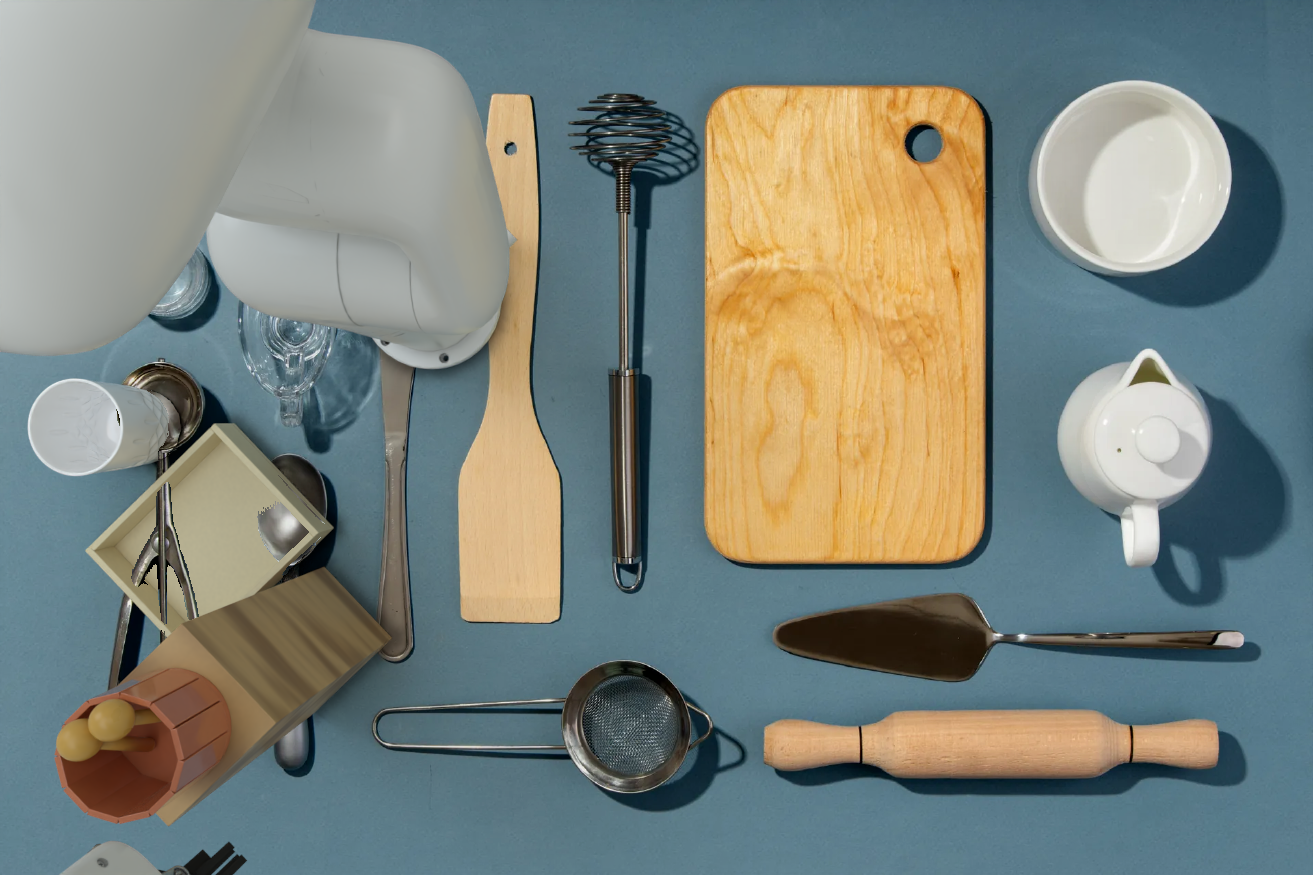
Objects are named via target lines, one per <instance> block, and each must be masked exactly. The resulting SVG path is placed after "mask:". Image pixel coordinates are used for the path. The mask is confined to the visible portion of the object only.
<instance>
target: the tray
mask: <svg viewBox="0 0 1313 875" xmlns="http://www.w3.org/2000/svg"><path fill="white" fill-rule="evenodd" d="M278 475H279V476H280V477H281V478H282V479H283V480H284V481H285V482H286V483H287V484H288V486H289V487H290V488H291V489H292V490H293V491H294V492H295V493H296V494H297V495H298V496H299V497H300V498H301V499H302V500H303V501H304V502H305V503H306V504H307V506H308V507H309V508H310V509H311V510H312V511H313V512H314V513H315V514H316V515H317V516H318V517H319V518H320V519H321V520H322V521H323V522H324V523H325V524H324V523H322V522H321V521H320V520H319V519H318V518H317V517H315V515H314V514H313V513H312V512H311V511H310V510H309V509H308V508H307V507H306V506H305V505H304V504H303V503H302V502H301V501H300V500H299V498H297V496H296V495H295V494H294V493H293V492H292V491H291V490H290V489H289V488H288V486H286V484H285V483H284V482H283V480H282V479H281V478H280V477H279V476H278ZM166 482H169V484H170V487H171V502H172V514H173V522H174V527H175V529H176V533H177V535H178V540H179V544H180V550H181V552H182V554H183V556H184V560H185V563H186V564H187V568H188V571H189V577H190V580H191V584H192V587H193V591H194V593H195V600H196V602H197V608H198V614H199V616H202V615H204V614H207V613H209V612H212V611H214V610H217V609H219V608H222V607H224V606H227V605H229V604H232V603H234V602H237V601H239V600H242V599H245V598H247V597H250V596H252V595H255V594H257V593H260V592H262V591H265V590H267V589H270V588H272V587H275V586H277V585H278V583H279V582H280V581H281V580H282V579H283V578H284V577H283V575H282V574H283V572H284V571H285V570H286V568H287V567H288V566H289V565H290V564H291V563H292V562H294V561H295V560H296V559H297V558H298V557H299V556H300V555H301V554H303V553H304V552H305V551H306V550H307V549H308V548H309V547H310V546H311V545H313V543H315V542H316V541H317V540H318V539H319V538H320V537H321V538H320V539H319V540H318V541H317V542H316V546H317V545H318V544H320V542H321V541H322V540H323V539H324V538H326V536H328V535H329V534H330V532H332V530H334V526H333V525H332V524H331V523H330V522H329V521H328V520H327V519H326V517H324V516H323V515H322V513H321V512H320V511H319V510H318V509H317V508H316V507H315V506H314V505H313V504H312V503H311V502H310V501H309V500H308V499H307V498H306V497H305V496H304V495H303V494H302V493H301V491H300V490H299V489H298V488H297V487H296V486H295V485H294V484H293V483H292V482H291V481H290V480H289V479H288V478H287V477H286V475H285V474H283V473H282V472H281V470H279V469H278V467H277V466H276V465H275V464H274V463H273V462H272V460H270V459H269V458H268V457H267V455H265V454H264V452H262V451H261V449H260V448H258V447H257V445H256V444H255V443H254V442H253V441H252V439H250V438H249V437H248V436H247V435H246V433H244V431H242V430H241V428H240V427H239V426H238V425H237V423H234V422H232V423H229V422H228V423H226V422H225V423H219V422H218V423H217V422H216V423H213V424H212V425H211V427H209V428H208V429H207V430H206V431H205V432H204V433H203V434H202V435H201V436H200V437H199V438H198V439H197V440H196V441H195V442H194V443H193V444H192V445H191V446H190V447H189V448H188V449H187V450H186V451H185V452H184V453H183V454H182V455H181V456H180V457H179V458H178V459H177V460H175V462H174V463H172V464H171V465H170V466H169V468H168V469H167V470H165V471H164V472H163V473H162V474H161V475H160V476H159V477H158V478H157V480H155V481H154V482H153V483H152V484H151V485H150V486H149V487H147V489H146V490H145V491H144V492H143V493H142V494H141V495H140V496H139V497H137V499H136V500H135V501H134V502H133V503H132V504H131V505H130V506H128V508H127V509H125V511H123V513H122V514H121V515H120V516H118V518H116V519H115V520H114V521H113V522H112V524H110V526H108V527H107V528H106V529H105V530H104V531H103V532H102V533H101V534H100V535H99V536H98V537H97V538H96V539H95V540H94V541H93V542H92V543H91V544H90V545H89V546H88V547H87V548H86V549H85V550H84V551H85V552H86V554H87V555H88V556H89V557H90V558H91V559H92V560H93V561H94V562H95V563H96V564H97V566H99V567H100V568H101V570H103V572H104V573H105V574H106V575H107V576H108V577H109V578H110V579H111V580H112V582H114V583H115V584H116V585H117V586H118V588H119V589H121V591H123V593H124V594H125V595H126V596H127V597H128V598H129V599H130V600H131V602H133V604H135V605H136V607H138V608H139V610H140V611H141V612H142V613H143V614H144V615H145V616H146V617H147V618H148V619H149V620H150V621H151V622H152V623H153V624H154V626H156V627H157V629H158V630H159V631H160V632H161V630H162V632H163V633H164V631H165V635H164V636H165V638H167V637H168V636H169V635H170V634H171V633H172V632H173V631H174V630H175V629H176V628H177V627H178V626H179V625H180V624H182V623H184V622H187V621H189V619H188V617H187V610H186V607H185V602H184V595H183V591H182V588H181V587H180V584H179V582H178V578H177V576H176V574H175V572H174V569H173V568H172V567H171V566H169V565H168V567H167V624H165V625H164V623H163V622H162V621H161V613H160V606H159V600H158V579H157V565H156V564H155V565H153V567H152V569H150V572H148V574H147V576H146V577H145V580H144V581H145V582H146V583H147V584H148V585H147V584H144V583H143V584H141V585H140V586H139V587H136V586H135V585H134V584H133V582H132V579H131V576H132V569H134V567H135V564H136V562H137V559H139V555H140V554H141V551H142V550H143V548H144V546H145V544H146V543H147V541H148V539H150V535H151V534H152V532H153V531H154V528H155V527H156V496H157V492H158V491H159V490H160V489H161V487H162V486H163V485H164V484H165V483H166ZM275 501H276V505H277V502H279V504H280V502H281V503H282V504H283V505H284V506H285V507H286V508H287V509H288V510H289V511H290V512H291V514H292V515H293V516H294V517H295V518H296V519H297V520H298V521H299V522H300V523H301V524H302V525H303V526H304V527H305V528H306V529H307V530H308V531H309V533H308V534H307V535H306V536H305V537H304V538H303V539H302V540H301V541H300V542H299V543H298V544H297V545H296V546H295V547H294V548H292V549H291V550H290V551H289V552H288V553H287V554H286V555H285V556H284V557H283V558H282V559H281V560H280V561H279V562H278V561H277V560H276V559H275V558H274V557H273V555H272V554H271V553H270V552H269V550H267V548H266V546H264V543H263V541H262V538H261V537H260V533H259V531H258V518H257V516H258V511H259V514H261V511H262V512H263V511H264V512H265V508H266V509H267V507H269V509H271V507H273V504H274V505H275ZM270 505H271V507H270ZM263 507H264V509H263ZM274 509H275V506H274ZM267 510H268V509H267ZM262 515H263V514H262ZM316 546H312V548H311V550H310V552H311V551H312V550H313V549H314V548H315V547H316ZM162 632H161V633H162ZM163 633H162V634H163Z"/></svg>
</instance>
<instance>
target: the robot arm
mask: <svg viewBox="0 0 1313 875" xmlns="http://www.w3.org/2000/svg"><path fill="white" fill-rule="evenodd" d="M316 3H317V0H0V353H5V354H13V355H22V356H32V357H33V356H34V357H57V356H66V355H68V356H69V355H75V354H82V353H87V352H92V351H95V350H97V349H99V348H101V347H104V346H106V345H109V344H110V343H112V342H114V341H116V340H117V339H119V338H121V337H122V336H124V335H125V334H127V333H129V332H130V331H132V330H133V329H135V328H136V327H137V326H138V325H140V323H142V321H144V320H145V319H146V318H147V317H148V316H149V315H150V314H151V313H152V312H153V311H154V309H155V308H156V307H157V306H158V304H159V303H160V302H161V301H162V300H163V299H164V297H165V296H166V295H167V293H168V292H169V291H170V290H171V288H172V287H173V286H174V284H175V283H176V281H177V280H178V279H179V278H180V276H181V274H182V273H183V272H184V270H185V268H186V267H187V266H188V263H189V262H190V260H191V258H192V257H193V255H194V254H195V252H196V250H197V249H198V246H199V245H200V243H201V241H202V240H203V238H204V236H205V235H206V245H207V250H208V254H209V257H210V260H211V264H212V265H213V268H214V270H215V272H216V274H217V275H218V278H219V279H220V281H221V282H222V283H223V285H224V286H225V287H226V288H227V290H228V291H229V293H232V295H233V296H234V297H235V298H236V299H238V300H239V301H240V302H241V303H243V304H244V305H246V306H248V307H249V308H251V309H252V310H255V311H256V312H259V313H262V314H263V315H266V316H268V317H269V316H270V317H273V318H277V319H281V320H287V321H293V322H301V323H304V324H305V323H306V324H312V325H318V326H322V327H329V328H334V329H339V330H343V331H347V332H351V333H354V334H358V335H361V336H365V337H368V338H372V340H373V341H374V343H375V344H376V346H378V347H379V349H381V350H382V351H383V353H385V354H386V355H387V356H389V357H391V358H392V359H393V360H395V361H396V362H399V363H401V364H404V365H406V366H408V367H412V368H415V369H424V370H440V369H447V368H450V367H454V366H457V365H460V364H462V363H464V362H465V361H467V360H470V359H471V358H473V356H474V355H476V354H477V353H478V352H480V351H481V350H482V349H483V348H484V347H485V345H486V344H487V343H488V341H489V340H490V338H492V335H493V333H494V332H495V330H496V328H497V326H498V322H499V319H500V316H501V309H502V303H503V300H504V298H505V295H506V292H507V289H508V285H509V277H510V264H511V263H510V262H511V257H510V255H511V254H510V249H511V247H512V246H513V245H514V244H515V243H516V242H517V241H518V239H517V238H516V237H515V236H514V235H513V233H511V231H510V230H509V229H508V228H507V223H506V219H505V214H504V208H503V205H502V201H501V197H500V193H499V189H498V186H497V185H498V184H497V182H496V177H495V173H494V170H493V165H492V161H491V158H490V154H489V149H488V146H487V140H486V138H485V137H486V136H485V133H484V130H483V125H482V122H481V118H480V114H479V111H478V109H477V108H478V107H477V105H476V102H475V99H474V96H473V94H472V91H471V89H470V86H469V84H468V83H467V82H466V80H465V78H464V77H463V75H462V74H461V73H460V72H459V70H458V69H456V67H455V66H454V65H453V64H452V63H451V62H449V61H448V60H447V59H446V58H444V57H443V56H441V55H440V54H438V53H437V52H434V51H432V50H430V49H428V48H425V47H423V46H418V45H416V44H412V43H407V42H403V41H397V40H390V39H383V38H382V39H381V38H373V37H364V36H356V35H346V34H338V33H332V32H324V31H320V30H316V29H312V28H309V26H310V23H311V20H312V17H313V13H314V10H315V5H316ZM205 233H206V234H205ZM446 357H448V359H447V360H445V358H446ZM235 853H236V851H235V846H234V845H233V844H232V842H230V841H227V842H226V843H225V844H224V845H223V846H222V847H221V848H219V850H217V852H215V853H214V854H213V855H212V856H210V855H209V854H208V853H207V852H206V851H205V850H204V849H203V848H202V849H201V850H200V851H199V852H198V853H196V854H195V856H193V857H192V858H191V859H190V860H189V861H188V862H187V863H186V864H184V865H183V866H182V865H180V864H179V865H174V866H173V867H172V866H171V867H170V868H169V869H167V870H163V869H159V868H157V867H156V866H155V865H153V863H151V861H150V860H149V859H148V858H146V857H145V856H144V855H143V854H142V853H141V852H140V851H139V850H137V849H135V848H134V847H133V846H131V845H129V844H127V843H125V842H122V841H118V840H108V841H105V842H102V843H96V844H95V845H94V846H92V847H91V849H89V851H88V852H86V854H84V855H83V856H81V857H80V858H79V859H78V860H76V861H74V862H73V863H72V864H71V865H69V866H68V867H67V868H66V869H64V870H63V871H62V872H60V873H59V874H58V875H213V874H214V873H215V872H216V871H217V870H218V869H219V868H220V867H221V866H222V865H223V864H224V863H225V862H226V861H228V860H229V858H230V857H232V856H233V855H234V854H235ZM247 861H248V859H246V858H245V856H243V854H240V855H239V854H238V853H236V854H235V855H234V856H233V857H232V858H231V859H230V860H229V861H228V862H227V863H226V864H225V865H223V866H222V868H221V869H219V871H218V872H216V874H215V875H235V874H236V873H237V871H239V870H240V868H242V867H243V866H244V865H245V864H246V863H247Z"/></svg>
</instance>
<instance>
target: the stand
mask: <svg viewBox="0 0 1313 875" xmlns="http://www.w3.org/2000/svg"><path fill="white" fill-rule="evenodd" d="M391 640H392V636H391V635H390V634H389V633H388V632H387V631H386V629H384V628H383V627H382V626H381V625H380V623H378V621H376V620H375V619H374V617H373V616H372V615H371V614H370V613H369V612H368V611H367V610H366V608H364V607H363V606H362V604H360V603H359V602H358V600H356V599H355V597H354V596H353V595H352V594H351V593H350V592H349V591H348V590H347V589H346V588H345V586H344V585H342V584H341V582H339V580H338V579H336V578H335V576H334V575H333V574H332V573H331V572H330V571H329V570H328V569H327V568H326V566H322V567H320V568H317V569H315V570H312V571H310V572H307V573H305V574H303V575H300V576H297V577H295V578H293V579H290V580H287V581H285V582H282V583H280V584H276V585H275V586H274V587H272V588H270V589H267V590H265V591H262V592H260V593H257V594H255V595H252V596H250V597H247V598H245V599H242V600H239V601H237V602H234V603H232V604H229V605H227V606H224V607H222V608H219V609H217V610H214V611H212V612H209V613H207V614H204V615H202V616H199V617H197V618H194V619H192V620H189V621H187V622H184V623H182V624H180V625H179V626H178V627H177V628H176V629H175V630H174V631H173V632H172V633H171V634H170V635H169V636H168V637H165V639H164V640H163V641H162V642H160V643H159V645H157V647H156V648H154V649H153V651H152V652H150V653H149V654H148V655H147V656H146V657H145V658H144V659H143V660H142V661H141V662H140V663H139V664H138V665H137V666H135V667H134V669H133V670H132V671H131V672H130V673H129V674H128V675H126V677H125V678H124V679H123V680H122V681H120V683H119V684H117V686H119V685H121V684H123V683H125V682H128V681H130V680H132V679H134V678H136V677H138V676H141V675H144V674H148V673H151V672H153V671H157V670H160V669H165V668H181V669H186V670H190V671H193V672H196V673H198V674H200V675H202V676H204V677H205V678H206V679H208V680H209V681H210V682H212V683H213V684H214V685H215V686H216V687H217V689H218V690H219V691H220V692H221V694H222V695H223V697H224V699H225V701H226V703H227V705H228V708H229V711H230V716H231V727H232V728H231V737H230V742H229V745H228V748H227V750H226V752H225V754H224V756H223V758H222V759H221V760H220V762H219V763H218V764H217V765H216V766H215V768H214V769H212V770H211V771H210V772H209V773H207V774H206V775H205V776H204V777H203V778H202V779H201V780H200V781H199V782H197V783H196V784H195V785H193V786H192V787H191V788H189V789H188V790H187V791H185V792H184V793H182V794H181V795H180V796H178V797H177V798H176V799H174V800H173V801H172V802H170V803H169V804H168V805H166V806H165V807H163V808H162V809H161V810H159V811H158V812H157V813H155V815H157V816H158V817H159V819H161V821H162V822H163V823H164V824H165V825H166V826H167V827H170V826H172V825H173V824H174V823H176V821H178V820H180V819H181V818H182V817H183V816H185V815H186V814H187V813H188V812H189V811H191V810H192V809H193V808H194V807H196V806H197V805H198V804H200V803H201V802H202V801H204V800H205V799H206V798H207V797H209V796H210V795H211V794H213V793H214V792H215V791H216V790H218V789H219V788H221V787H222V786H223V785H224V784H226V783H227V782H228V781H229V780H231V779H232V778H233V777H234V776H236V775H237V774H238V773H240V772H241V771H242V770H243V769H245V768H246V767H247V766H248V765H250V764H251V763H252V762H254V761H255V760H256V759H258V757H260V756H261V755H263V754H264V753H265V752H267V750H269V749H271V747H273V746H274V745H275V744H277V743H278V742H279V741H280V740H282V739H283V738H284V737H286V736H287V735H288V734H290V733H291V732H292V731H293V730H295V729H296V728H297V727H299V725H301V724H302V723H303V722H305V721H306V720H307V719H308V718H310V717H311V716H312V715H314V714H315V713H316V712H317V711H318V710H320V709H321V707H322V706H324V704H325V703H327V701H328V700H330V698H332V697H333V696H334V695H335V694H336V693H337V692H338V691H339V690H340V689H341V688H342V687H343V686H344V685H345V684H346V683H347V682H348V681H349V680H350V679H351V678H352V677H354V676H355V674H357V673H358V672H359V671H360V670H361V669H362V668H363V667H364V666H365V665H366V664H367V663H368V662H369V661H370V660H371V659H372V658H373V657H374V656H375V655H377V654H378V652H380V651H381V650H382V649H383V647H385V646H386V645H387V644H388V643H389V642H390V641H391Z"/></svg>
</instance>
